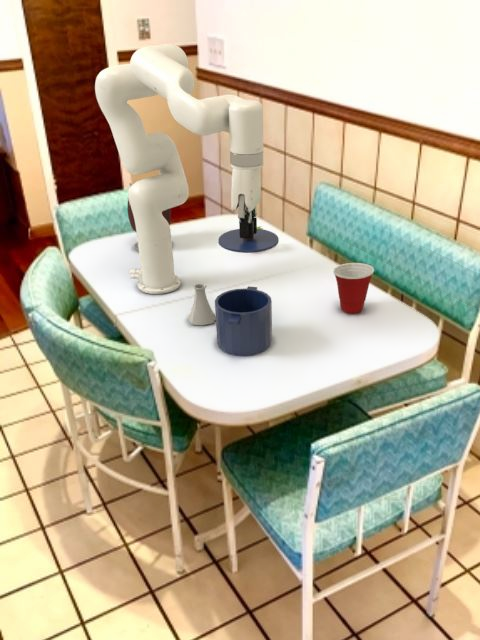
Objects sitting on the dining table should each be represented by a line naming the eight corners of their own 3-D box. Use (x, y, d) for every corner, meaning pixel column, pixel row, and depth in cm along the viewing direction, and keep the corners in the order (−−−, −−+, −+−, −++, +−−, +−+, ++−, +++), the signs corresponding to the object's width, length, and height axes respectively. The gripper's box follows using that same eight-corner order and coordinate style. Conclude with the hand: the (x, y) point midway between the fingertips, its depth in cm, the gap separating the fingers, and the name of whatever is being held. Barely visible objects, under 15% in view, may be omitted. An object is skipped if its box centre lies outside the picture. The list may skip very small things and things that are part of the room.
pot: (207, 358, 153) (204, 316, 147) (228, 321, 168) (226, 281, 162) (262, 364, 150) (261, 321, 144) (279, 326, 166) (278, 286, 160)
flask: (188, 314, 172) (185, 280, 167) (215, 312, 173) (213, 279, 168) (188, 327, 166) (185, 292, 161) (216, 325, 167) (213, 291, 161)
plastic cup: (348, 296, 180) (350, 257, 174) (379, 308, 173) (382, 268, 167) (322, 309, 174) (324, 268, 167) (354, 322, 167) (356, 280, 161)
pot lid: (210, 252, 150) (209, 229, 147) (228, 230, 162) (227, 208, 160) (270, 257, 147) (270, 234, 144) (284, 235, 159) (284, 213, 156)
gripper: (240, 149, 152) (242, 223, 161) (220, 167, 138) (223, 246, 148) (271, 150, 150) (271, 225, 160) (253, 169, 137) (254, 249, 146)
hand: (248, 235), depth 154 cm, fingers closed on pot lid, 2 cm apart
